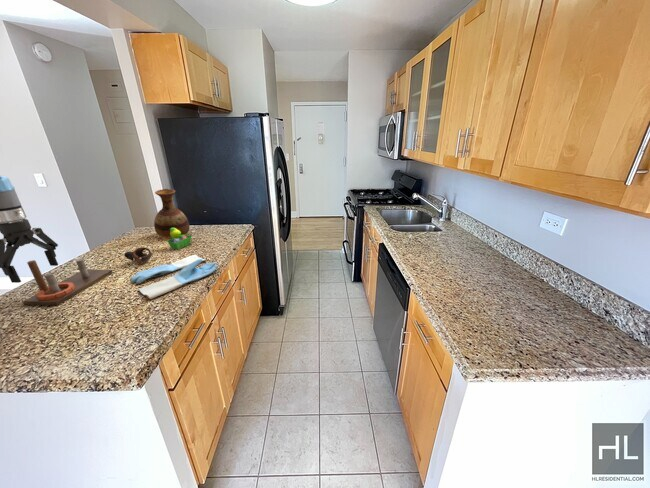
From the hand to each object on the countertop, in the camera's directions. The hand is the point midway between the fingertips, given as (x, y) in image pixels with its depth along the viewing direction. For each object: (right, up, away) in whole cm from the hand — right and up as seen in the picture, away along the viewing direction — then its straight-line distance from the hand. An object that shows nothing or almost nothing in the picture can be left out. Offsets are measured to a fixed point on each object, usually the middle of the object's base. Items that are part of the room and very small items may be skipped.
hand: (36, 273), depth 101 cm
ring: (+5, -8, +3) cm, 10 cm away
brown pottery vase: (+13, +17, +70) cm, 73 cm away
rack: (+5, -7, +10) cm, 13 cm away
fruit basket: (+27, +10, +52) cm, 59 cm away
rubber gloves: (+43, -3, +20) cm, 47 cm away
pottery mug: (+17, +2, +33) cm, 37 cm away
